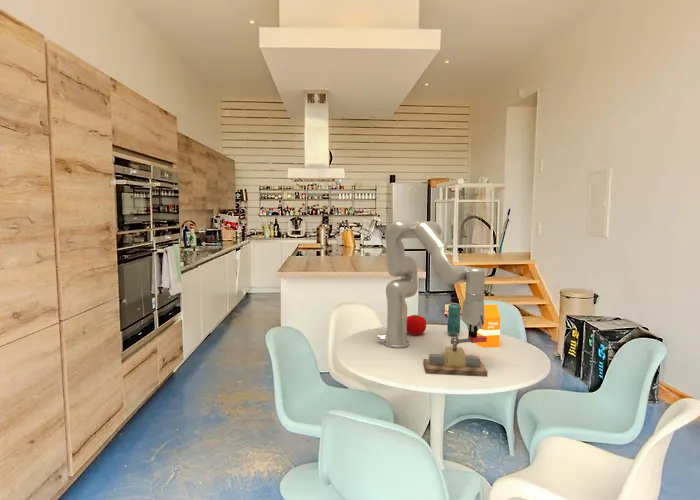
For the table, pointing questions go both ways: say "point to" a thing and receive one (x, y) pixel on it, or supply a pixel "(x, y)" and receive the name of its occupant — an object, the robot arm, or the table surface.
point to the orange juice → (490, 327)
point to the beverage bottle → (454, 317)
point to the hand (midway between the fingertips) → (472, 340)
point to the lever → (469, 339)
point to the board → (454, 370)
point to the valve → (454, 358)
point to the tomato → (416, 324)
